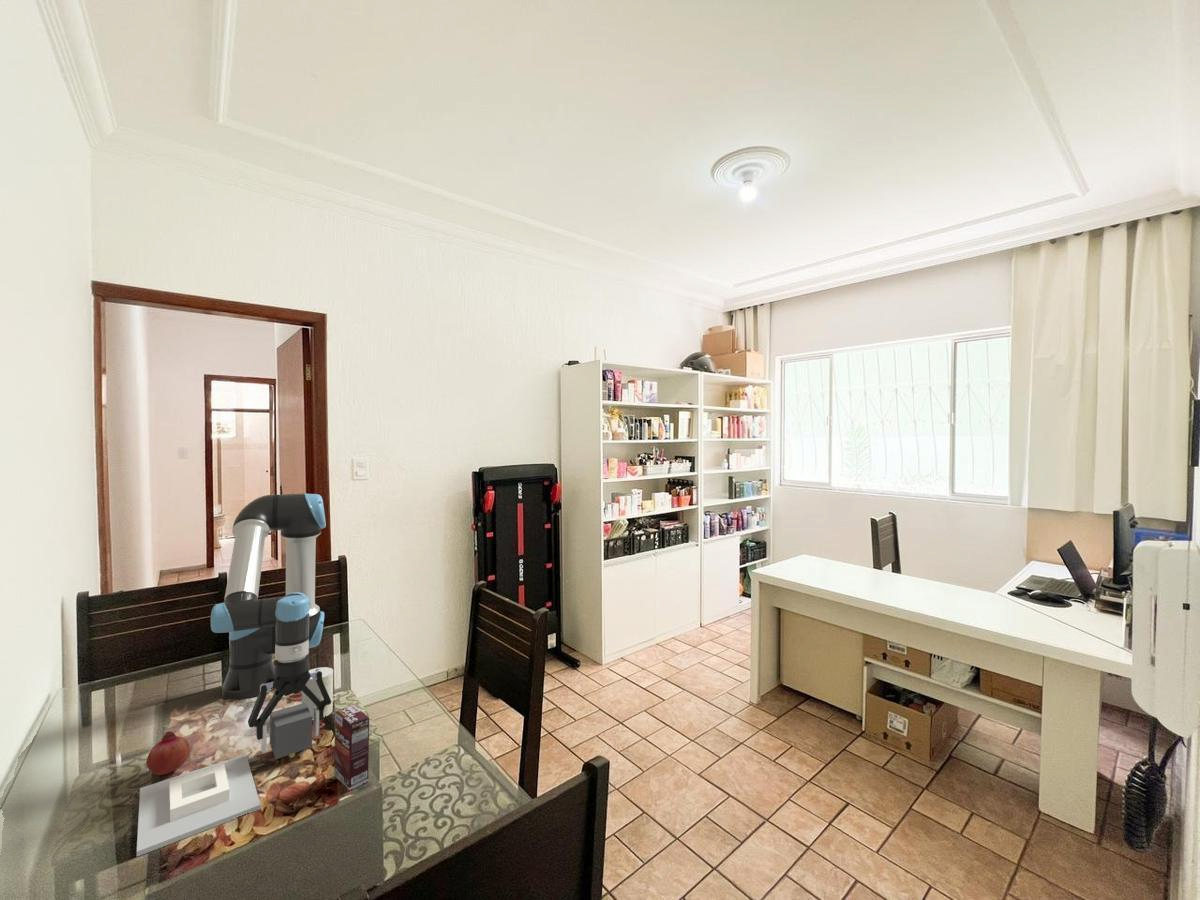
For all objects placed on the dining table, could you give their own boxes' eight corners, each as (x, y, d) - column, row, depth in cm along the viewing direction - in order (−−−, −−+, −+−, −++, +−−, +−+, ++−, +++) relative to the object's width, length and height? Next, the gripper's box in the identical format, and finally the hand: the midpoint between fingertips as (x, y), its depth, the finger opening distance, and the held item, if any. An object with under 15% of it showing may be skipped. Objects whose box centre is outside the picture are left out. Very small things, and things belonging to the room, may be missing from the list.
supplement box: (332, 776, 121) (333, 711, 122) (353, 767, 125) (354, 703, 125) (348, 792, 116) (349, 723, 116) (369, 782, 120) (370, 715, 120)
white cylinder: (318, 721, 146) (319, 680, 146) (294, 718, 147) (295, 677, 147) (338, 707, 154) (339, 668, 154) (315, 704, 155) (316, 666, 155)
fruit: (139, 787, 117) (140, 744, 117) (154, 767, 124) (154, 726, 124) (183, 778, 120) (183, 737, 120) (194, 759, 127) (195, 720, 127)
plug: (269, 751, 131) (270, 712, 131) (304, 740, 136) (304, 702, 136) (275, 768, 124) (276, 727, 124) (311, 755, 130) (312, 716, 130)
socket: (140, 792, 115) (140, 777, 115) (246, 758, 128) (246, 744, 128) (136, 856, 97) (136, 838, 97) (260, 809, 110) (260, 793, 110)
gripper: (238, 675, 120) (237, 766, 120) (345, 650, 135) (343, 731, 135) (234, 664, 126) (233, 752, 125) (337, 642, 141) (336, 720, 141)
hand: (290, 741), depth 130 cm, fingers open, 11 cm apart
